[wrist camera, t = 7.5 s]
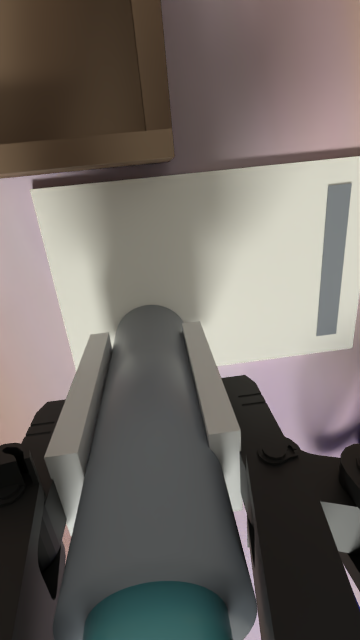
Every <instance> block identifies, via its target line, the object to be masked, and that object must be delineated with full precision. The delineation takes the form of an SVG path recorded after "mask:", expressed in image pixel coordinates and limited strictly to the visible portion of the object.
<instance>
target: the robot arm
mask: <svg viewBox="0 0 360 640" xmlns="http://www.w3.org/2000/svg"><path fill="white" fill-rule="evenodd" d="M182 329H183V335H184V339H185V344H186V348H187V352H188V357H189V361H190V365H191V370H192V374H193V378H194V383H195V387H196V391H197V396H198V400H199V404H200V409H201V413H202V417H203V422H204V426H205V430H206V435H207V439H208V443H209V448H210V449H211V450H212V451H213V452H214V454H215V455H216V456H217V458H218V460H219V462H220V464H221V467H222V470H223V474H224V478H225V482H226V486H227V490H228V493H229V497H230V501H231V505H232V509H233V512H234V511H241V510H243V504H242V499H243V502H244V506H245V509H246V512H247V543H248V547H250V554H251V562H252V570H253V578H254V585H255V593H256V601H257V609H258V617H259V625H260V633H261V640H360V610H359V607H358V604H357V602H356V599H355V596H354V593H353V591H352V588H351V585H350V582H349V579H348V577H347V574H346V571H345V568H346V569H347V571H348V573H349V574H350V576H351V578H352V579H353V581H354V583H355V584H356V586H357V588H358V589H359V591H360V444H353V445H351V446H348V447H346V448H345V449H344V451H343V452H342V453H341V458H336V457H328V456H320V455H314V454H310V453H307V452H304V451H302V450H300V448H299V446H298V445H297V444H296V443H294V442H293V441H292V440H290V439H289V438H286V437H285V436H284V435H283V433H282V431H281V429H280V428H279V426H278V424H277V422H276V420H275V418H274V416H273V415H272V413H271V411H270V409H269V407H268V405H267V403H266V402H265V400H264V398H263V396H262V395H261V392H260V390H259V388H258V387H257V385H256V383H255V382H254V381H252V380H251V379H250V378H248V377H247V376H246V375H242V376H234V377H226V378H221V376H220V374H219V371H218V368H217V366H216V363H215V360H214V358H213V355H212V352H211V349H210V347H209V344H208V341H207V339H206V336H205V333H204V331H203V328H202V325H201V323H200V321H196V322H188V323H182ZM111 353H112V345H111V340H110V335H109V332H106V333H98V334H90V337H89V340H88V342H87V345H86V347H85V350H84V353H83V355H82V358H81V361H80V363H79V366H78V369H77V371H76V374H75V377H74V379H73V382H72V384H71V387H70V390H69V392H68V395H67V398H66V400H58V401H51V402H47V403H46V404H45V405H44V406H43V407H42V408H41V409H40V410H39V411H38V412H37V413H36V415H35V417H34V419H33V421H32V423H31V427H29V429H28V431H27V433H26V437H24V439H23V441H22V443H21V444H19V443H9V444H3V445H1V446H0V640H55V639H54V636H53V627H52V626H53V620H54V615H55V611H56V606H57V602H58V597H59V592H60V588H61V583H62V579H63V574H64V569H65V558H66V555H65V548H64V544H63V542H62V537H63V533H64V529H65V525H66V524H67V527H68V529H69V532H70V535H71V536H72V533H73V528H74V523H75V519H76V514H77V510H78V505H79V500H80V496H81V491H82V487H83V482H84V477H85V473H86V468H87V464H88V459H89V454H90V450H91V445H92V441H93V436H94V431H95V427H96V422H97V418H98V413H99V408H100V404H101V399H102V395H103V390H104V385H105V381H106V376H107V372H108V367H109V362H110V358H111ZM343 564H344V566H345V568H344V566H343Z"/></svg>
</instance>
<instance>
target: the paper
mask: <svg viewBox="0 0 360 640" xmlns="http://www.w3.org/2000/svg"><path fill="white" fill-rule="evenodd" d="M30 192H31V196H32V200H33V204H34V208H35V212H36V216H37V220H38V224H39V228H40V232H41V235H42V239H43V243H44V247H45V251H46V255H47V259H48V263H49V267H50V271H51V274H52V278H53V282H54V286H55V290H56V294H57V298H58V302H59V306H60V310H61V314H62V317H63V321H64V325H65V329H66V333H67V337H68V341H69V345H70V349H71V353H72V357H73V360H74V364H75V368H76V371H77V369H78V366H79V363H80V361H81V358H82V355H83V353H84V350H85V347H86V345H87V342H88V340H89V337H90V334H98V333H106V332H109V335H110V340H111V345H112V349H113V344H114V339H115V335H116V330H117V327H118V325H119V323H120V321H121V320H122V318H123V317H124V316H125V315H126V314H127V313H128V312H130V311H131V310H133V309H135V308H137V307H140V306H145V305H159V306H163V307H166V308H168V309H170V310H172V311H174V312H175V313H176V314H177V315H178V316H179V317H180V318H181V319H182V321H183V322H184V323H188V322H196V321H200V323H201V325H202V328H203V331H204V333H205V336H206V339H207V341H208V344H209V347H210V349H211V352H212V355H213V358H214V360H215V363H216V366H222V365H230V364H237V363H245V362H252V361H260V360H267V359H275V358H282V357H290V356H297V355H305V354H312V353H320V352H328V351H335V350H343V349H350V348H352V347H353V339H354V331H355V324H356V316H357V308H358V300H359V293H360V156H355V157H346V158H336V159H326V160H316V161H306V162H296V163H287V164H277V165H267V166H257V167H247V168H237V169H227V170H218V171H208V172H198V173H188V174H178V175H168V176H158V177H149V178H139V179H129V180H119V181H109V182H99V183H89V184H80V185H70V186H60V187H50V188H40V189H30Z"/></svg>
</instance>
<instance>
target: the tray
mask: <svg viewBox="0 0 360 640" xmlns="http://www.w3.org/2000/svg"><path fill="white" fill-rule="evenodd" d="M174 157H175V155H174V144H173V133H172V122H171V111H170V100H169V89H168V78H167V67H166V55H165V44H164V33H163V22H162V11H161V0H0V178H10V177H20V176H30V175H40V174H50V173H60V172H70V171H80V170H91V169H101V168H111V167H121V166H131V165H141V164H151V163H161V162H169V161H170V160H172V159H173V158H174Z"/></svg>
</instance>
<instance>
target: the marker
mask: <svg viewBox="0 0 360 640" xmlns="http://www.w3.org/2000/svg"><path fill="white" fill-rule="evenodd" d="M182 323H184V322H183V321H182V319H181V318H180V317H179V316H178V315H177V314H176V313H175V312H174V311H172V310H170V309H168V308H166V307H163V306H159V305H145V306H140V307H137V308H135V309H133V310H131V311H130V312H128V313H127V314H126V315H125V316H124V317H123V318H122V320H121V321H120V323H119V325H118V327H117V330H116V335H115V339H114V344H113V349H112V353H111V358H110V362H109V367H108V372H107V376H106V381H105V385H104V390H103V395H102V399H101V404H100V408H99V413H98V418H97V422H96V427H95V431H94V436H93V441H92V445H91V450H90V454H89V459H88V464H87V468H86V473H85V477H84V482H83V487H82V491H81V496H80V500H79V505H78V510H77V514H76V519H75V523H74V528H73V533H72V537H71V542H70V546H69V551H68V556H67V560H66V565H65V569H64V574H63V579H62V583H61V588H60V592H59V597H58V602H57V606H56V611H55V615H54V620H53V626H52V627H53V636H54V639H55V640H243V639H244V638H245V637H246V636H247V634H248V633H249V632H250V630H251V628H252V627H253V625H254V622H255V619H256V615H257V603H256V599H255V595H254V591H253V587H252V583H251V579H250V575H249V571H248V567H247V564H246V560H245V556H244V552H243V548H242V544H241V540H240V536H239V532H238V528H237V525H236V521H235V517H234V513H233V509H232V505H231V501H230V497H229V493H228V490H227V486H226V482H225V478H224V474H223V470H222V467H221V464H220V462H219V460H218V458H217V456H216V455H215V454H214V452H213V451H212V450H211V449H210V448H209V443H208V439H207V435H206V430H205V426H204V422H203V417H202V413H201V409H200V404H199V400H198V396H197V391H196V387H195V383H194V378H193V374H192V370H191V365H190V361H189V357H188V352H187V348H186V344H185V339H184V335H183V329H182Z"/></svg>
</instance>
